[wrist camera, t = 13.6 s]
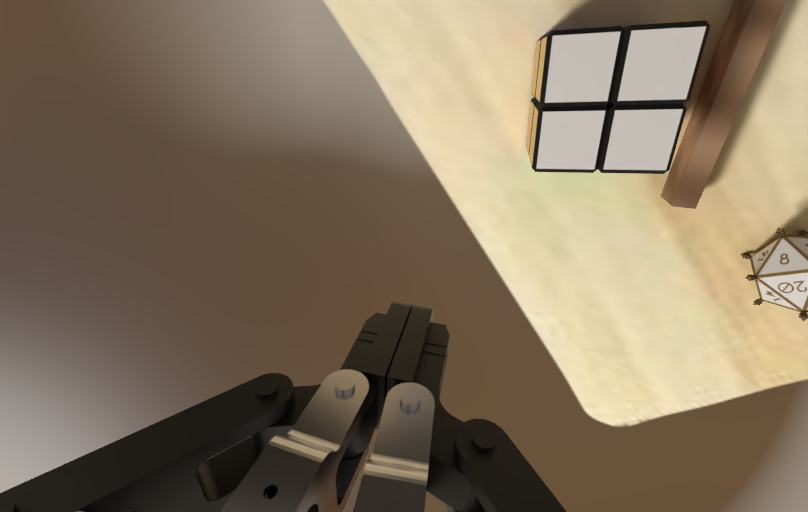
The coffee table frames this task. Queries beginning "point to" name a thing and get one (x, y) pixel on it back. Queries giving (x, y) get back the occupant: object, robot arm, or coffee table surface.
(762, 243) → the coffee table surface
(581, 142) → the puzzle cube
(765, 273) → the game die
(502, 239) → the coffee table surface
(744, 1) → the chute
